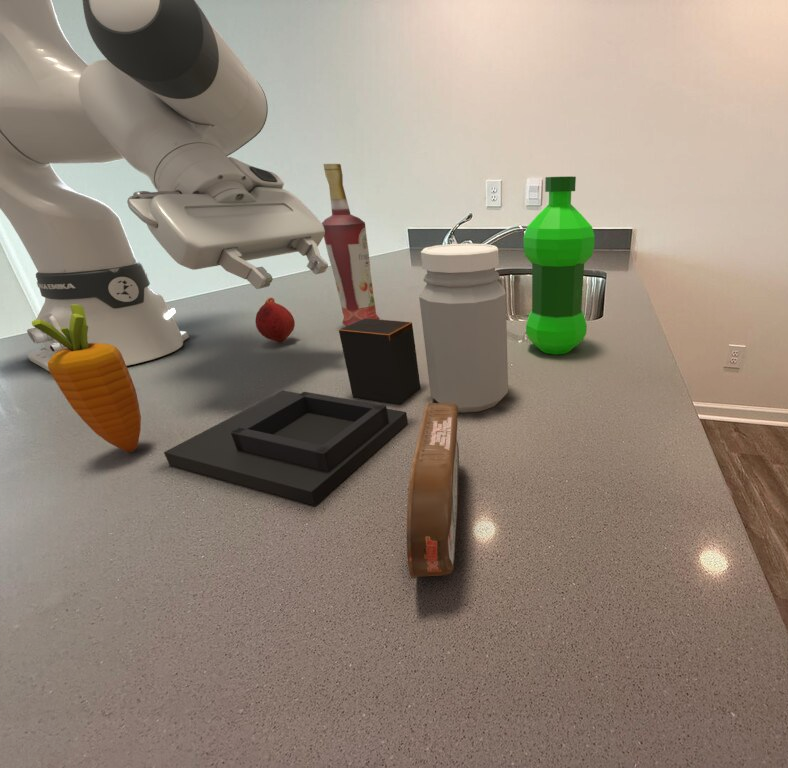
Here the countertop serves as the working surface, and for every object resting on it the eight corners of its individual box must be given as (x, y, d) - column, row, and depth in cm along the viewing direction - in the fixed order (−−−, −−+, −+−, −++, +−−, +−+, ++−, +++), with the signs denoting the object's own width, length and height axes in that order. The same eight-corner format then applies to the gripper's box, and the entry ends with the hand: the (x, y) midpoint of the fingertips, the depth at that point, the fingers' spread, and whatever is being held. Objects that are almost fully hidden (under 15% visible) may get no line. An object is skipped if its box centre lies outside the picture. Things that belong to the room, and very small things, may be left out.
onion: (283, 349, 69) (270, 302, 65) (254, 347, 70) (240, 301, 66) (306, 338, 74) (295, 294, 70) (278, 336, 75) (266, 293, 71)
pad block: (352, 397, 52) (338, 329, 48) (376, 381, 56) (364, 318, 52) (400, 404, 50) (389, 334, 46) (420, 387, 54) (412, 322, 50)
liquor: (374, 332, 76) (345, 162, 64) (336, 333, 76) (299, 163, 64) (386, 321, 83) (361, 164, 70) (350, 321, 83) (320, 166, 71)
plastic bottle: (548, 365, 60) (553, 175, 49) (512, 345, 68) (509, 178, 57) (600, 352, 64) (614, 175, 54) (560, 334, 73) (566, 178, 62)
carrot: (110, 471, 39) (26, 318, 32) (92, 456, 41) (10, 311, 35) (171, 446, 42) (106, 304, 36) (151, 433, 45) (87, 298, 38)
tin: (432, 463, 39) (422, 384, 35) (465, 461, 39) (459, 382, 35) (410, 609, 25) (390, 505, 22) (461, 605, 25) (450, 500, 22)
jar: (425, 387, 54) (407, 245, 46) (495, 376, 57) (489, 240, 49) (439, 423, 46) (420, 257, 38) (520, 407, 49) (518, 250, 41)
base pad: (169, 465, 39) (154, 434, 38) (285, 400, 51) (278, 375, 50) (315, 505, 34) (305, 471, 32) (408, 423, 46) (403, 395, 44)
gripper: (121, 166, 39) (231, 274, 40) (285, 174, 57) (358, 248, 58) (109, 217, 42) (212, 315, 44) (269, 209, 60) (338, 278, 61)
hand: (296, 276), depth 51 cm, fingers open, 8 cm apart
